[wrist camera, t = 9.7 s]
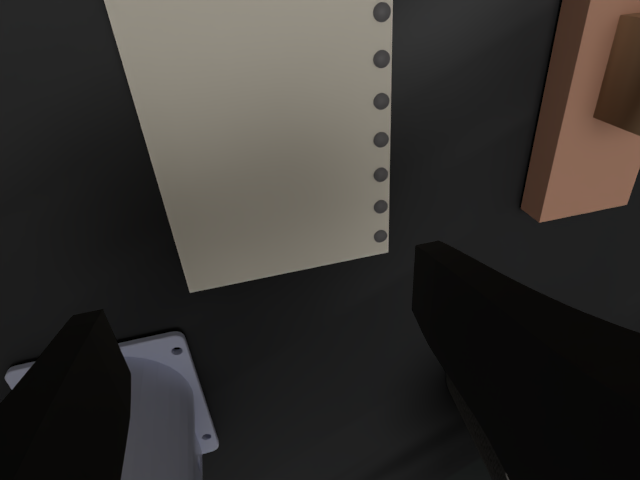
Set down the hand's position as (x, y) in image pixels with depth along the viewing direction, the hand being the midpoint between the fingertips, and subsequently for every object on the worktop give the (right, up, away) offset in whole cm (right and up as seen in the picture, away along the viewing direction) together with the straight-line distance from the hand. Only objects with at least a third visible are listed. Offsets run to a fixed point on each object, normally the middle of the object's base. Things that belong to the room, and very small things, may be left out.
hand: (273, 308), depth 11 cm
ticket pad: (-1, +7, +7) cm, 10 cm away
